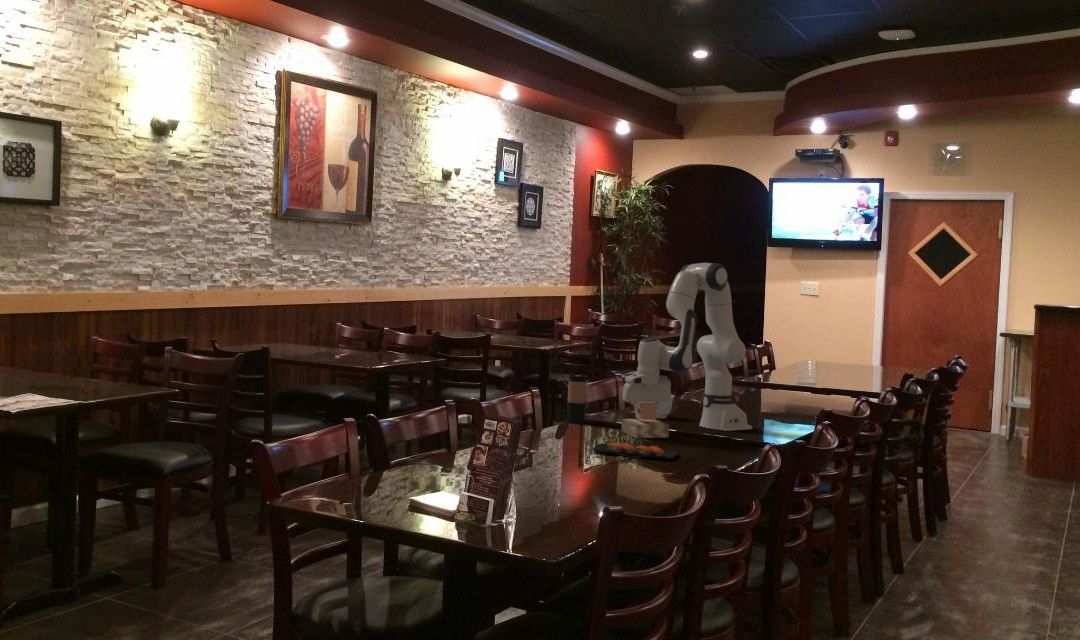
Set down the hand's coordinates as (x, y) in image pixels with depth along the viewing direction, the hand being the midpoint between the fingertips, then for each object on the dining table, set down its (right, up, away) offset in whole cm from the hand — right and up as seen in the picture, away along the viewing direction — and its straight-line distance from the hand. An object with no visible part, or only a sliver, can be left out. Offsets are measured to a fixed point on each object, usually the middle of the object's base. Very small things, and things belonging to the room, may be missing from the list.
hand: (645, 413), depth 377 cm
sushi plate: (-11, -12, -48) cm, 50 cm away
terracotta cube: (0, -2, 0) cm, 2 cm away
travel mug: (-27, -6, +22) cm, 35 cm away
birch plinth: (0, -9, 0) cm, 9 cm away
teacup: (+10, -7, +47) cm, 48 cm away
